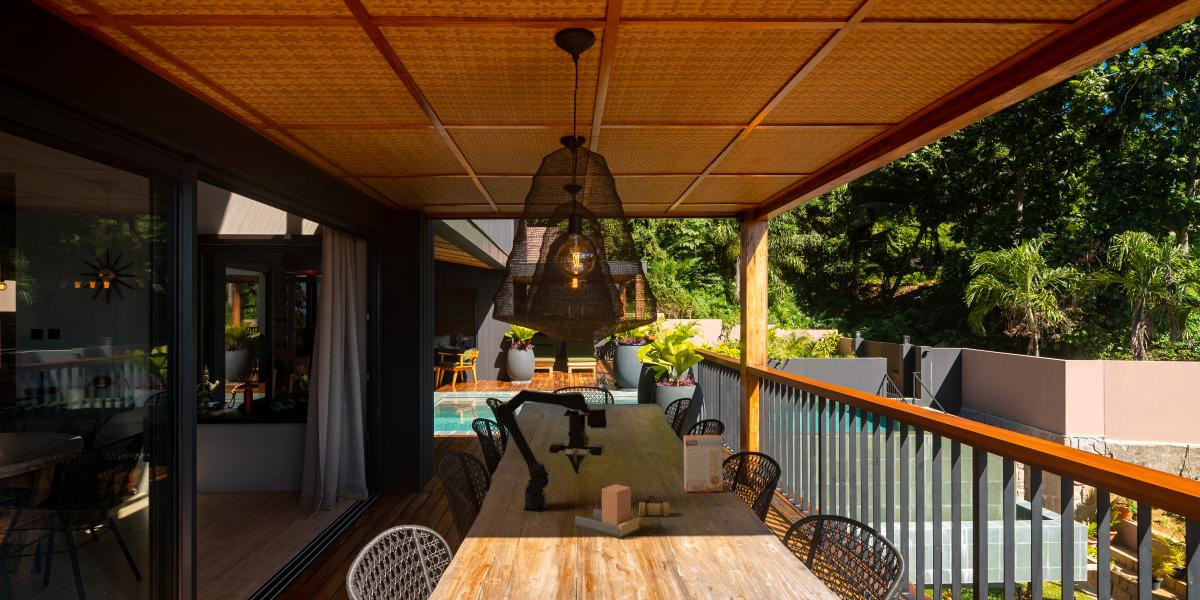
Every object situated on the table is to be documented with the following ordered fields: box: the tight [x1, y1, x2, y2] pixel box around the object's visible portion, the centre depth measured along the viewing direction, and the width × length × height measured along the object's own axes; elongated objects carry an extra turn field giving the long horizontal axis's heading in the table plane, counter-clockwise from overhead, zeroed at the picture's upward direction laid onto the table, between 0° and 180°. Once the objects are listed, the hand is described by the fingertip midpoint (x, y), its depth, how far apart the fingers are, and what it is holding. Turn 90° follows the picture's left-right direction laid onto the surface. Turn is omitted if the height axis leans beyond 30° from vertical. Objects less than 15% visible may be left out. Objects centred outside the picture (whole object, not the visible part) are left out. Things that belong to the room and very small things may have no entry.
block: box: [601, 484, 632, 527], centre depth 202 cm, size 6×7×12 cm
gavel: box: [638, 495, 670, 517], centre depth 226 cm, size 21×5×10 cm
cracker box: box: [683, 434, 724, 493], centre depth 247 cm, size 14×6×21 cm, turn 92°
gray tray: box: [574, 508, 642, 540], centre depth 204 cm, size 18×10×4 cm, turn 51°
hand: (577, 473), depth 225 cm, fingers closed
